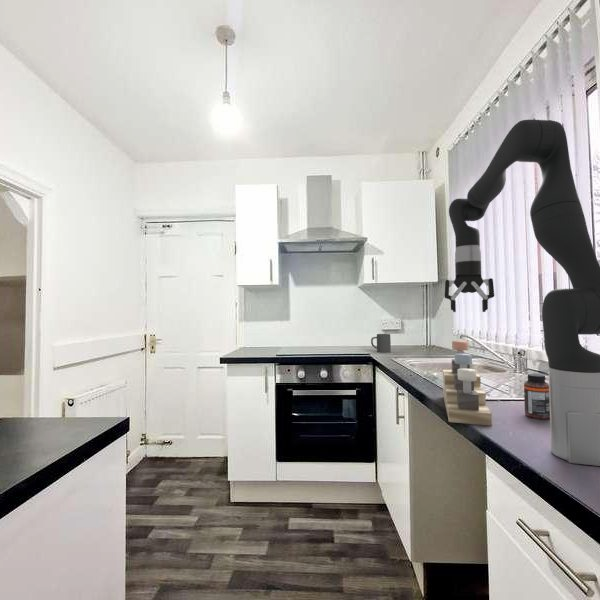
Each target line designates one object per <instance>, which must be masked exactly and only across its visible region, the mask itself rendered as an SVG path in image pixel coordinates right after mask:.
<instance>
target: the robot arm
mask: <svg viewBox="0 0 600 600" xmlns="http://www.w3.org/2000/svg"><path fill="white" fill-rule="evenodd" d="M566 133H567V132H566V130H565V128H564V126H563V124H561V123H560V122H558V121H556V120H551V119H550V120H549V119H523V120H520V121H518V122H517V123H515V124H514V126H512V127H511V129H510V130H509V131H508V133H507V134H506V136H505V137H504V139H503V140H502V142H501V144H500V146H499V147H498V149H497V151H495V154H494V155H493V158H492V159H491V161H490V162H489V164H488V166H487V168H486V169H485V171H484V173H483V174H482V175H481V176H480V177H479V178H478V180H476V182H475V183H474V184H473V186H471V188H470V189H469V190H468V192H467V195H466V198H463V197H462V198H455V199H454V200H452V201H451V203H450V204H449V207H448V214H449V215H448V216H449V219H450V222H451V225H452V229H453V232H454V236H455V252H454V253H455V254H454V267H455V268H454V269H455V270H454V273H455V279H454V280H449V279H446V280H445V281H444V282H445V283H444V298H445V299H447V300H449V301H450V310H451V311H452V312H453V313H456V311H457V309H456V308H457V307H456V306H457V305H456V299H457V297H458V296H459V294H460V293H463V294H467V293H470V294H474V293H476V294H478V295H479V296H480V297H481V298H482V300H481V305H482V306H481V308H482V309H481V312H482V313H485V312H486V311H488V308H489V302H488V301H489V300H490V299H492V298H494V297H495V289H494V279H493V278H487V279H486V278H485V279H483V278H482V252H481V251H482V250H481V246H480V245H481V241H480V237H481V235H480V230H479V229H478V227H473V226H471V225H468V223H467V222H477V221H479V220H481V219H482V218H484V216H485V215H486V212H487V210H488V207H489V206H490V204H491V203H492V202H493V201H494V200H495V199H496V198H497V197H498V196H499V195H500V194H501V193H502V191H503V190H504V187H505V186H506V181H507V180H506V179H507V177H506V175H507V174H506V173H507V169H508V168H509V167H510V166H511V165H513V164H514V163H515V162H520V163H536V164H537V165H538V166H539V169H540V171H541V172H540V173H541V176H542V182H541V185H540V187H539V189H538V191H537V192H536V194H535V196H534V199H533V201H532V203H531V205H530V206H531V207H530V209H529V215H530V221H531V225H532V230H533V235H534V237H535V239H536V241H537V242H538V244H539V245H540V247H541V248H542V249H544V250H545V252H546V253H548V255H550V256H551V257H552V258H553V260H555V261H556V262H557V263H558V264H559V265H560V266H561V268H562V269H563V270H564V271H565V273H566V275H567V276H568V278H569V280H570V283H571V286H572V288H556V289H553V290H552V289H551V290H550V291H548V293H547V294H546V295H545V296H544V299H543V301H542V307H541V316H542V319H541V320H542V329H543V330H542V331H543V339H544V340H543V341H544V350H545V354H546V357H547V360H548V362H547V363H548V384H549V401H550V418H549V426H550V427H549V428H550V430H549V431H550V451H551V453H552V454H553V455H554V456H556V457H558V458H561V459H562V460H565V461H567V463H570V464H577V465H586V466H595V467H596V466H597V467H600V353H597V352H594V351H591V350H589V349H587V348H585V347H584V346H582V344H581V343H580V338H579V335H587V336H588V335H600V262H599V261H598V258H597V255H596V253H595V249H594V246H593V244H592V240H591V236H590V234H589V231H588V230H589V229H588V226H587V221H586V218H585V214H584V211H583V210H584V209H583V207H582V203H581V201H580V197H579V194H578V192H577V187H576V183H575V180H574V179H575V178H574V175H573V171H572V167H571V160H570V152H569V145H568V138H567V134H566ZM453 284H454V285H455V286H456V288H457V289H456V291H455V292H454V293H453V294H452V295H450V288H452V285H453ZM483 284H485V286H486V287H487V290H488V294H486V293H485V292H484V290H482V288H481V286H482V285H483Z"/></svg>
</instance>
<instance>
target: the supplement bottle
mask: <svg viewBox="0 0 600 600" xmlns="http://www.w3.org/2000/svg"><path fill="white" fill-rule="evenodd" d="M523 393H524V394H523V397H524V398H523V399H524V403H523V404H524V415H526V416H527V417H529V418H532V419H538V420H547V419H550V401H549V382H548V383H547V382H546V375H544V374H542V373H533V372H532V373H528V374H527V381H525V382H524V383H523Z"/></svg>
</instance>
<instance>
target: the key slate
mask: <svg viewBox="0 0 600 600" xmlns="http://www.w3.org/2000/svg"><path fill="white" fill-rule="evenodd" d="M454 359H455V364H460V369H461V368H466V369H467V365H470V366H471V365H473V355H472V354H470V353H464V354H457V353H455V354H454Z"/></svg>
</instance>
